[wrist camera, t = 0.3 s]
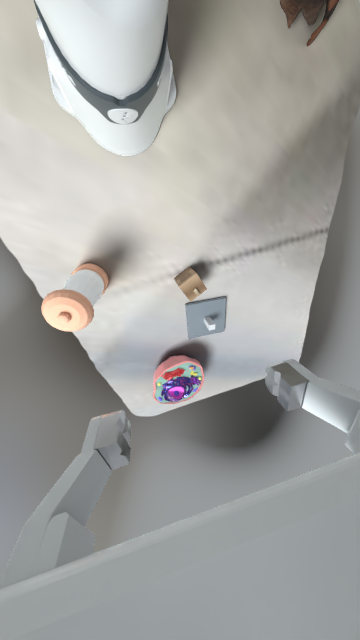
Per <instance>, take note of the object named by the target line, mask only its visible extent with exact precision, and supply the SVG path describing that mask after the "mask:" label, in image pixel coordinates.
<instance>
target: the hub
mask: <svg viewBox="0 0 360 640" xmlns="http://www.w3.org/2000/svg"><path fill="white" fill-rule="evenodd" d="M185 306H186V317H187V329H188V337H189V339H190V338H195V337H200V336H204V335H209V334H214V333H219V332H223V331H224V328H225V309H226V298H225V297H219V298H214V299H208V300H203V301H198V302H192V303H187V304H185Z"/></svg>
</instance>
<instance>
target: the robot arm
mask: <svg viewBox="0 0 360 640" xmlns="http://www.w3.org/2000/svg"><path fill="white" fill-rule="evenodd" d="M168 2H169V0H34V3H35V6H36V9H37V12H38V15H39V19H38V18H36V24H37V28H38V32H39V35H40V38H41V40H42V41H43V42H44V48H45V53H46V59H47V64H48V70H49V76H50V81H51V87H52V91H53V95H54V97H55V99H56V101H57V103H58V104H59V105H60V106H61V107H62V108H63V109H64V110H65V111H67V112H68V113H69V114H71V115H72V116H74V117H75V118H77V119H78V120H79V121H80V123H81V124H82V125H83V126H84V128H85V129H86V130H87V132H88V133H89V134H90V135H91V136H92V138H93V139H94V140H95V141H96V142H97V143H99V144H100V145H101V146H102V147H104V148H105V149H107V150H108V151H110V152H112V153H115V154H118V155H122V156H133V155H136V154H139V153H141V152H143V151H144V150H146V149H147V148H148V147H149V146H150V145H151V144H152V142H153V141H154V139H155V137H156V135H157V133H158V131H159V128H160V125H161V122H162V119H163V117H164V115H165V114H166V113H167V112H168V111H169V110H170V108H171V107H172V106H173V104H174V102H175V99H176V86H175V81H174V75H173V70H172V60H171V59H170V55H169V49H168V44H167V37H168V33H167V32H168V14H167V9H168ZM266 372H267V373H268V374H267V376H266V377H265V382H266V385H267V387H268V389H269V391H270V392H271V393H272V394H273V395H276V396H278V401H279V402H280V404H281V405H282V406H283V407H284V408H285V409H286V410H287V411H290V410H293V409H297V408H299V407H302V408H303V409H305V410H307V411H309V412H311V413H312V414H314V415H316V416H318V417H319V418H321V419H323V420H325V421H327V422H328V423H330V424H332V425H334V426H336V427H337V428H339V429H341V430H343V431H344V432H346V433H348V435H347V437H346V439H345V445H346V446H347V447H348V448H349V449H350V450H351V451H352V452H353V453H354V454H355V455H352V456H349V457H347V458H344V459H342V460H339V461H336V462H334V463H331V464H328V465H326V466H323V467H320V468H318V469H315V470H312V471H310V472H307V473H305V474H302V475H299V476H297V477H294V478H291V479H289V480H286V481H283V482H281V483H278V484H276V485H273V486H270V487H268V488H265V489H263V490H260V491H257V492H254V493H252V494H249V495H247V496H244V497H241V498H239V499H236V500H233V501H231V502H228V503H225V504H223V505H220V506H218V507H215V508H212V509H210V510H207V511H204V512H202V513H199V514H196V515H194V516H191V517H189V518H186V519H183V520H181V521H178V522H175V523H173V524H170V525H167V526H165V527H162V528H160V529H157V530H154V531H152V532H149V533H146V534H144V535H141V536H138V537H136V538H133V539H131V540H128V541H126V542H123V543H120V544H118V545H115V546H112V547H109V548H107V549H104V550H102V551H99V552H96V553H94V554H93V550H94V544H95V535H94V534H93V533H92V532H91V531H90V530H88V529H87V528H86V527H85V525H86V523H87V521H88V519H89V517H90V515H91V513H92V511H93V509H94V507H95V505H96V503H97V501H98V499H99V497H100V495H101V493H102V490H103V489H104V487H105V484H106V482H107V480H108V479H109V476H110V474H111V472H112V470H114V469H116V468H119V467H122V466H124V465H127V464H130V450H131V448H130V446H129V444H128V443H129V441H130V439H131V426H130V422H129V420H128V419H127V418H125V412H124V410H120V411H116V412H113V413H109V414H105V415H102V416H98V417H94V418H92V419H91V421H90V424H89V427H88V430H87V434H86V438H85V441H84V444H83V448H82V451H81V454H80V455H77V456H76V458H75V459H74V461H73V462H72V463H71V464H70V466H69V467H68V468H67V469H66V471H65V472H64V473H63V475H62V476H61V477H60V478H59V480H58V481H57V482H56V484H55V485H54V486H53V488H52V489H51V490H50V491H49V493H48V494H47V495H46V497H45V498H44V499H43V501H42V502H41V503H40V504H39V506H38V507H37V509H36V510H35V511H34V513H33V514H32V515H31V516H30V517H29V519H28V520H27V521H26V523H25V524H24V526H23V528H22V530H21V533H20V535H19V537H18V540H17V542H16V545H15V547H14V549H13V552H12V554H11V557H10V559H9V561H8V564H7V566H6V569H5V571H4V573H3V576H2V578H1V580H0V640H360V390H357V389H354V388H350V387H348V386H345V385H342V384H339V383H336V382H333V381H330V380H327V379H323V378H320V379H319V378H318V377H316V376H315V375H314V374H313V373H311V372H310V371H309V370H307V369H306V368H305V367H303V366H302V365H301V364H300V363H298V362H297V361H296V360H294V359H290V360H287V361H283V362H279V363H276V364H273V365H270V366H267V368H266Z"/></svg>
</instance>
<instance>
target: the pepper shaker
mask: <svg viewBox="0 0 360 640" xmlns="http://www.w3.org/2000/svg"><path fill="white" fill-rule="evenodd" d="M107 285H108V277H107V274H106V273H105V271H104V270H103V269H102V268H100V267H99V266H97V265H95V264H89V263H88V264H83V265H81V266H79V267H78V268H77V269H75V270H74V272H73V273H72V274H71V276H70V277H69V279H68V280H67V281H66V284H65V286H64V288H63V289H62V290H56V291H53V292H51V293H49V294H48V295H47V296H46V297H45V298H44V300H43V304H42V307H41V309H42V314H43V316H44V318H45V319H46V321H47V322H48V323H49V324H50V325H52V326H53V327H55V328H57V329H60V330H63V331H77V330H81V329H83V328H85V327H86V326H87V325H88V324H89V323H90V322H91V321H92V319H93V316H94V310H93V305H94V304H95V303H96V302H97V301H98V300H99V299H100V298H101V296H102V295H103V294H104V293H105V290H106V288H107Z"/></svg>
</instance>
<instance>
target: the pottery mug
mask: <svg viewBox="0 0 360 640" xmlns="http://www.w3.org/2000/svg"><path fill="white" fill-rule="evenodd" d="M323 2H324V0H281V1H280V4H281V7H282V9H283V10H284V12H285V13H286V16H287V23H288V28H290V26H291V24H292V22H293V21H294V19H295V18H296V16H297V15H298V13H299V12H300V10H301V9H302V8H303V16H304V18H305V19H306V20H307V23H308V25H312V24H314V23H315V21H316V18H317V15H318V12H319V10H320V9H321V7H322V5H323ZM338 2H339V0H326V10H325V14H324V18H323V21H322V23H321V25H320V26H319V27H318V28H317V29H316V30H315V31H314V32H313V34H312V35H311V38H310V39H309V41H308V42H307V46H309V45H310V44H311V43H312V42H313V41H314V39H315V38H316V37H317V35H318V34H319V32H320V31H321V30H322V29H323V27H324V26H325V24H326V23H327V21H328V20H329V18H330V16H331V15H332V13H333V11H334V10H335V7H336V5H337V3H338Z"/></svg>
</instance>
